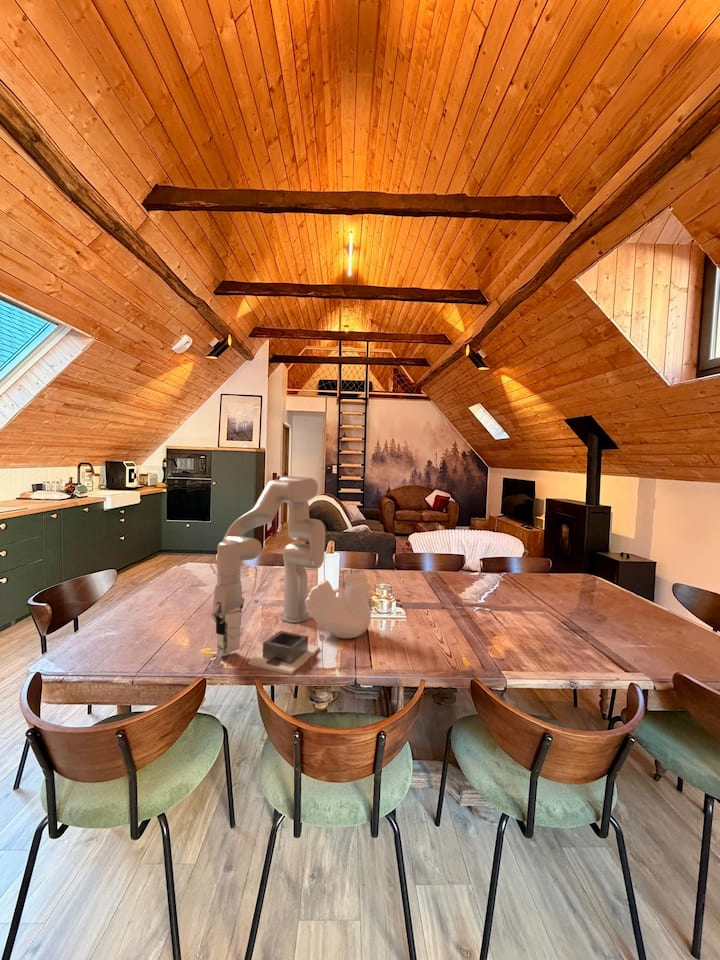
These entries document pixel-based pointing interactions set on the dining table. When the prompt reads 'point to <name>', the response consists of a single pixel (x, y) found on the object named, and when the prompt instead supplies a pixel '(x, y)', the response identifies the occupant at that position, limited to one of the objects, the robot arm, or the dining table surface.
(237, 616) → the syrup box
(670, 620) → the dining table surface
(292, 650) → the pocket stand
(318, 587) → the decorative rooster
